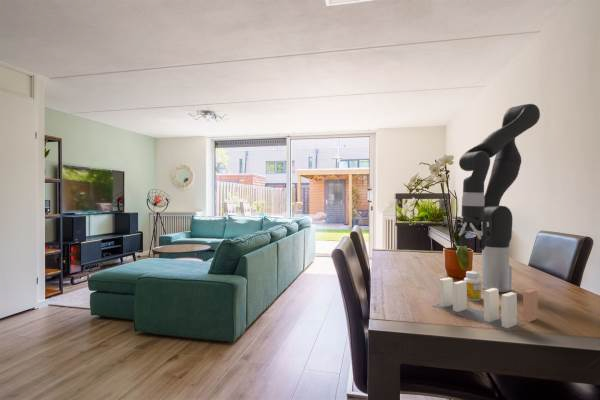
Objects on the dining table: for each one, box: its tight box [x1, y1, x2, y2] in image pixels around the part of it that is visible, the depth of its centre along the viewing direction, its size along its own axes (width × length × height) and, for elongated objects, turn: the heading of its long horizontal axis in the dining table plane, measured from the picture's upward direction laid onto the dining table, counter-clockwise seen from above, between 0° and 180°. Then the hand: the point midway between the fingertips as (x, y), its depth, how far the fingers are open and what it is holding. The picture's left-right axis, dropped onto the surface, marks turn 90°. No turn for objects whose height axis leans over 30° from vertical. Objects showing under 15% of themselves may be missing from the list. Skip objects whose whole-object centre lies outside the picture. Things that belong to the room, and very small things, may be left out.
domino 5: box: [522, 288, 538, 323], centre depth 96 cm, size 2×5×9 cm, turn 121°
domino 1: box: [438, 276, 454, 307], centre depth 109 cm, size 2×5×9 cm, turn 121°
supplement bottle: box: [463, 270, 482, 301], centre depth 116 cm, size 5×5×10 cm
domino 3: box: [483, 288, 500, 322], centre depth 96 cm, size 2×5×9 cm, turn 121°
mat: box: [432, 303, 526, 332], centre depth 101 cm, size 24×9×1 cm, turn 31°
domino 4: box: [501, 291, 518, 328], centre depth 92 cm, size 2×5×9 cm, turn 121°
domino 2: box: [453, 280, 468, 312], centre depth 105 cm, size 2×5×9 cm, turn 121°
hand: (471, 247), depth 122 cm, fingers open, 8 cm apart
